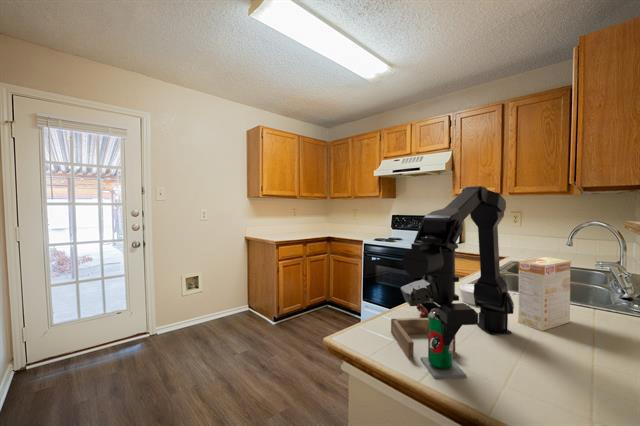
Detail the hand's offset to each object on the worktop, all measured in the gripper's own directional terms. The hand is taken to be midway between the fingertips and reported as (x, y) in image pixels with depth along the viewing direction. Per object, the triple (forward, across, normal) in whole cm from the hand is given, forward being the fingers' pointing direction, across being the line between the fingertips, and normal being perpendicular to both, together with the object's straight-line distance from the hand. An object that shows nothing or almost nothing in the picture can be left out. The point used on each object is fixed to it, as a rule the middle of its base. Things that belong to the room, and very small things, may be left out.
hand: (440, 339), depth 61 cm
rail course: (+7, -11, +1) cm, 13 cm away
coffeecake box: (+7, -22, +44) cm, 50 cm away
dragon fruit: (+7, -29, +11) cm, 32 cm away
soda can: (+6, 0, 0) cm, 6 cm away
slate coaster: (+7, 0, 0) cm, 7 cm away
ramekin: (+7, -41, +34) cm, 54 cm away
